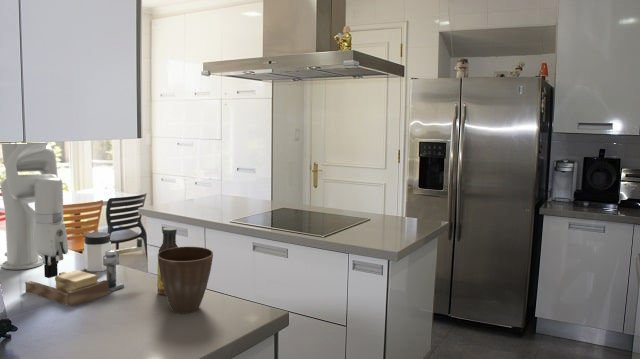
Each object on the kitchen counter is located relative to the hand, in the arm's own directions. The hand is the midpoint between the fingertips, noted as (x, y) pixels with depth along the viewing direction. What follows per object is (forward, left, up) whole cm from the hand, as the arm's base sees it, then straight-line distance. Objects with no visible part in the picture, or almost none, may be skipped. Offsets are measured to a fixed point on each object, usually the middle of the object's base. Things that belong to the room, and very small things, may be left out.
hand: (51, 276), depth 151 cm
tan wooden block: (+12, 0, -4) cm, 13 cm away
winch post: (+15, +10, -4) cm, 18 cm away
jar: (-6, +21, -4) cm, 22 cm away
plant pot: (+46, +10, -4) cm, 47 cm away
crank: (+16, +14, +7) cm, 22 cm away
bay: (+7, 0, -4) cm, 8 cm away
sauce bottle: (+32, +17, -4) cm, 36 cm away
